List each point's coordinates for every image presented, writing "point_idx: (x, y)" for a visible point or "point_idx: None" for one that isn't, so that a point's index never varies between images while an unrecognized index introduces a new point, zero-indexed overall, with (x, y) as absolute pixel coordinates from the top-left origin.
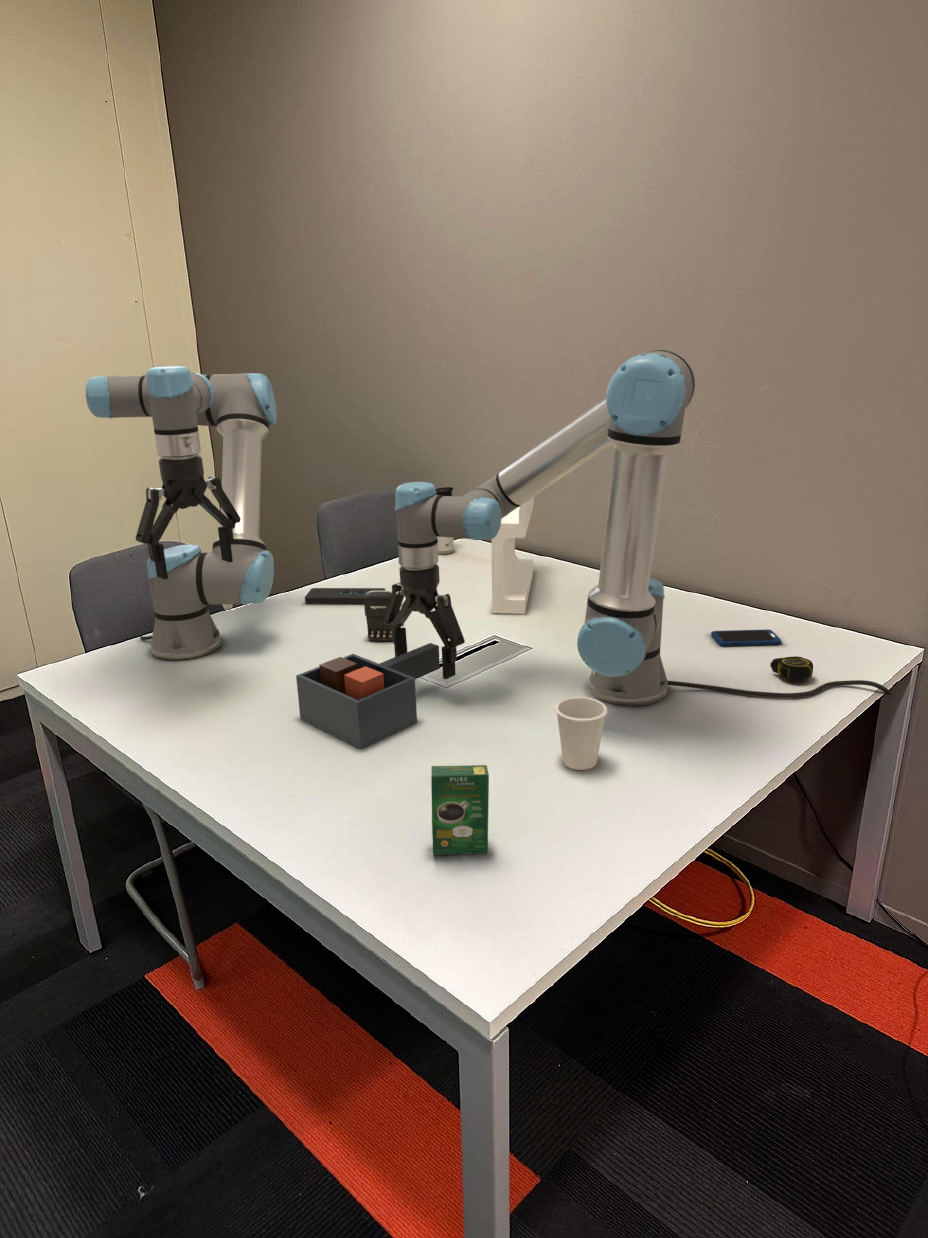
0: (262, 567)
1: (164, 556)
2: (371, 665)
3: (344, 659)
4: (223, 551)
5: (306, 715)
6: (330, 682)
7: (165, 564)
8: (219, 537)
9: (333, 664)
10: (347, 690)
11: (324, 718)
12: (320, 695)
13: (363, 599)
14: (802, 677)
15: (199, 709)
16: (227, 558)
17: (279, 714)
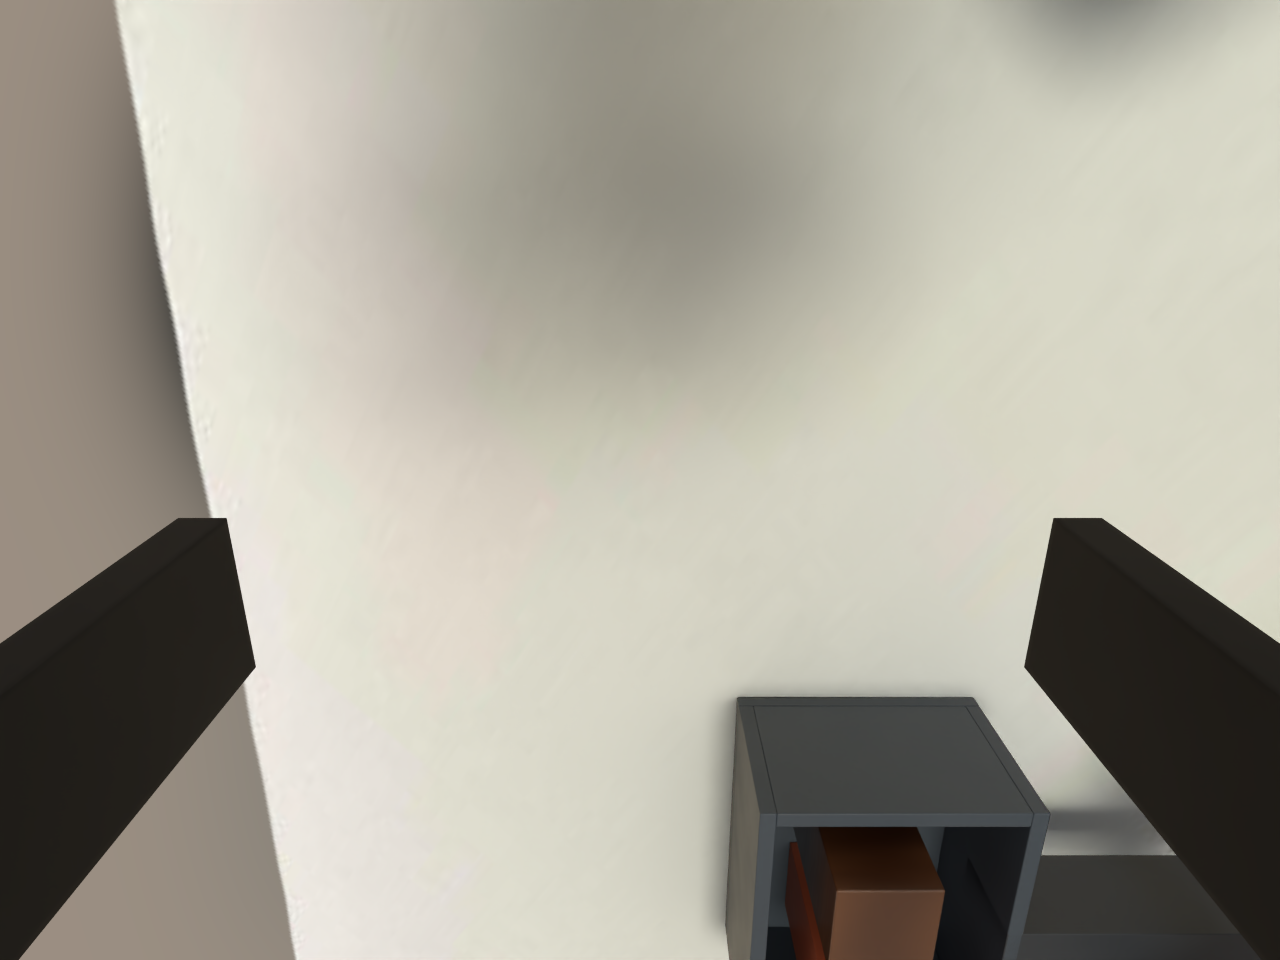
0: None
1: (86, 872)
2: (1007, 907)
3: (932, 918)
4: (1107, 641)
5: (738, 744)
6: (819, 891)
7: (156, 782)
8: (1270, 712)
9: (871, 923)
10: (813, 956)
11: (736, 839)
12: (747, 895)
13: None
14: None
15: (542, 381)
16: (1050, 663)
17: (715, 624)
